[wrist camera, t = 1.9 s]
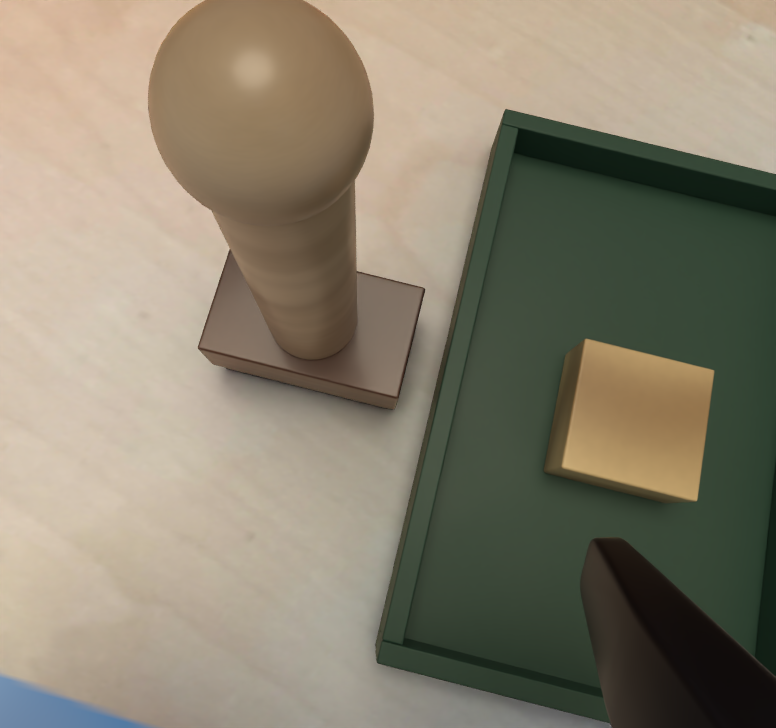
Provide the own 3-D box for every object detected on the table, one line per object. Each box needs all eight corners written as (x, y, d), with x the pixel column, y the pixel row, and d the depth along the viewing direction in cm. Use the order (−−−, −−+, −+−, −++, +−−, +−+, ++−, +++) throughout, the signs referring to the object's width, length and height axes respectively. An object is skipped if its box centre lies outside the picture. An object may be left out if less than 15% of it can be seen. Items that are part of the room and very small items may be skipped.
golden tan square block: (666, 503, 21) (698, 502, 19) (542, 472, 21) (561, 468, 19) (683, 383, 22) (715, 369, 20) (565, 353, 22) (585, 337, 20)
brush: (393, 415, 22) (452, 222, 8) (218, 371, 22) (-46, 100, 8) (417, 317, 23) (511, -23, 8) (248, 275, 23) (60, -130, 9)
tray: (748, 743, 20) (798, 772, 18) (374, 647, 20) (375, 663, 18) (804, 221, 24) (849, 191, 22) (492, 145, 24) (505, 108, 22)
